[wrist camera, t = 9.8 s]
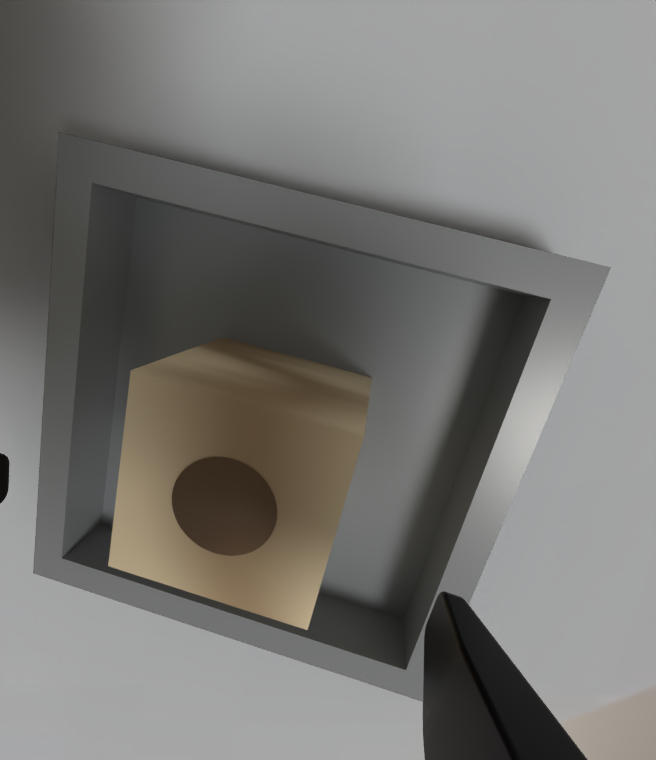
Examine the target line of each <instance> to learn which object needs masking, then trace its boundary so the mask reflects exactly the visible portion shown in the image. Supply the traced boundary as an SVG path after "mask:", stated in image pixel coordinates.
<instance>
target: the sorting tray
mask: <svg viewBox="0 0 656 760" xmlns="http://www.w3.org/2000/svg"><path fill="white" fill-rule="evenodd" d="M609 271H610V267H606V266H602V265H598V264H594V263H590V262H586V261H582V260H578V259H574V258H570V257H566V256H561V255H557V254H553V253H549V252H545V251H541V250H537V249H533V248H529V247H525V246H521V245H517V244H513V243H509V242H504V241H500V240H496V239H492V238H488V237H484V236H480V235H476V234H472V233H468V232H464V231H460V230H456V229H452V228H447V227H443V226H439V225H435V224H431V223H427V222H423V221H419V220H415V219H411V218H407V217H403V216H399V215H394V214H390V213H386V212H382V211H378V210H374V209H370V208H366V207H362V206H358V205H354V204H350V203H346V202H342V201H337V200H333V199H329V198H325V197H321V196H317V195H313V194H309V193H305V192H301V191H297V190H293V189H289V188H284V187H280V186H276V185H272V184H268V183H264V182H260V181H256V180H252V179H248V178H244V177H240V176H236V175H232V174H227V173H223V172H219V171H215V170H211V169H207V168H203V167H199V166H195V165H191V164H187V163H183V162H179V161H174V160H170V159H166V158H162V157H158V156H154V155H150V154H146V153H142V152H138V151H134V150H130V149H126V148H122V147H117V146H113V145H109V144H105V143H101V142H97V141H93V140H89V139H85V138H81V137H77V136H73V135H69V134H64V133H60V132H59V145H58V162H57V179H56V196H55V213H54V230H53V247H52V264H51V281H50V298H49V315H48V332H47V349H46V366H45V383H44V400H43V417H42V434H41V451H40V468H39V485H38V502H37V519H36V536H35V553H34V570H33V573H34V574H37V575H40V576H43V577H47V578H50V579H53V580H56V581H59V582H62V583H65V584H68V585H71V586H74V587H77V588H80V589H83V590H86V591H89V592H92V593H95V594H98V595H101V596H104V597H107V598H110V599H113V600H116V601H119V602H122V603H125V604H128V605H131V606H134V607H137V608H140V609H144V610H147V611H150V612H153V613H156V614H159V615H162V616H165V617H168V618H171V619H174V620H177V621H180V622H183V623H186V624H189V625H192V626H195V627H198V628H201V629H204V630H207V631H210V632H213V633H216V634H219V635H222V636H225V637H228V638H231V639H234V640H238V641H241V642H244V643H247V644H250V645H253V646H256V647H259V648H262V649H265V650H268V651H271V652H274V653H277V654H280V655H283V656H286V657H289V658H292V659H295V660H298V661H301V662H304V663H307V664H310V665H313V666H316V667H319V668H322V669H325V670H328V671H331V672H335V673H338V674H341V675H344V676H347V677H350V678H353V679H356V680H359V681H362V682H365V683H368V684H371V685H374V686H377V687H380V688H383V689H386V690H389V691H392V692H395V693H398V694H401V695H404V696H407V697H410V698H413V699H416V700H419V701H422V702H423V677H424V634H425V628H426V624H427V622H428V619H429V616H430V614H431V611H432V609H433V606H434V604H435V601H436V599H437V596H438V595H439V593H440V592H443V591H445V592H448V593H451V594H454V595H458V596H460V597H462V598H463V599H464V600H465V601H466V602H467V603H468V605H469V602H470V600H471V598H472V595H473V593H474V591H475V588H476V586H477V583H478V581H479V579H480V576H481V574H482V572H483V569H484V567H485V565H486V562H487V560H488V557H489V555H490V553H491V550H492V548H493V546H494V543H495V541H496V538H497V536H498V534H499V531H500V529H501V527H502V524H503V522H504V519H505V517H506V515H507V512H508V510H509V508H510V505H511V503H512V501H513V498H514V496H515V493H516V491H517V489H518V486H519V484H520V482H521V479H522V477H523V474H524V472H525V470H526V467H527V465H528V463H529V460H530V458H531V456H532V453H533V451H534V448H535V446H536V444H537V441H538V439H539V437H540V434H541V432H542V429H543V427H544V425H545V422H546V420H547V418H548V415H549V413H550V410H551V408H552V406H553V403H554V401H555V399H556V396H557V394H558V392H559V389H560V387H561V384H562V382H563V380H564V377H565V375H566V373H567V370H568V368H569V365H570V363H571V361H572V358H573V356H574V354H575V351H576V349H577V347H578V344H579V342H580V339H581V337H582V335H583V332H584V330H585V328H586V325H587V323H588V320H589V318H590V316H591V313H592V311H593V309H594V306H595V304H596V302H597V299H598V297H599V294H600V292H601V290H602V287H603V285H604V283H605V280H606V278H607V275H608V273H609ZM222 337H225V338H229V339H232V340H236V341H239V342H243V343H247V344H250V345H254V346H258V347H261V348H265V349H269V350H272V351H276V352H280V353H283V354H287V355H291V356H294V357H298V358H302V359H305V360H309V361H313V362H316V363H320V364H324V365H327V366H331V367H335V368H338V369H342V370H346V371H349V372H353V373H357V374H360V375H364V376H368V377H371V378H372V382H371V389H370V397H369V404H368V411H367V418H366V425H365V433H364V438H363V441H362V445H361V448H360V452H359V455H358V459H357V462H356V466H355V469H354V472H353V476H352V479H351V483H350V486H349V490H348V493H347V496H346V500H345V503H344V507H343V510H342V514H341V517H340V520H339V524H338V527H337V531H336V534H335V538H334V541H333V545H332V548H331V551H330V555H329V558H328V562H327V565H326V569H325V572H324V575H323V579H322V582H321V586H320V589H319V593H318V596H317V599H316V603H315V606H314V610H313V613H312V617H311V620H310V623H309V627H308V630H305V629H302V628H299V627H296V626H293V625H290V624H287V623H283V622H280V621H277V620H274V619H271V618H268V617H265V616H262V615H259V614H256V613H252V612H249V611H246V610H243V609H240V608H237V607H234V606H231V605H228V604H224V603H221V602H218V601H215V600H212V599H209V598H206V597H203V596H200V595H196V594H193V593H190V592H187V591H184V590H181V589H178V588H175V587H172V586H168V585H165V584H162V583H159V582H156V581H153V580H150V579H147V578H144V577H141V576H137V575H134V574H131V573H128V572H125V571H122V570H119V569H116V568H113V567H109V566H108V563H109V554H110V545H111V537H112V528H113V519H114V511H115V502H116V493H117V485H118V476H119V468H120V459H121V450H122V442H123V433H124V424H125V416H126V407H127V398H128V390H129V381H130V373H131V370H133V369H136V368H139V367H141V366H144V365H147V364H150V363H152V362H155V361H158V360H161V359H164V358H166V357H169V356H172V355H175V354H177V353H180V352H183V351H186V350H189V349H191V348H194V347H197V346H200V345H202V344H205V343H208V342H211V341H214V340H216V339H219V338H222Z"/></svg>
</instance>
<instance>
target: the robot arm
mask: <svg viewBox="0 0 656 760" xmlns="http://www.w3.org/2000/svg"><path fill="white" fill-rule="evenodd" d="M8 484H9V460H8V457H7V456H5V455H4V454H1V453H0V503H1V502H2V501H3V500H4V499H5V497H6V495H7V492H8ZM423 739H424V754H425V760H587V758H586V757H585V756H584V754H583V753H582V752H581V751H580V749H579V748H578V747H577V745H576V744H575V743H574V741H573V740H572V739H571V737H570V736H569V735H568V734H567V732H566V731H565V730H564V728H563V727H562V726H561V724H560V723H559V722H558V721H557V719H556V718H555V717H554V715H553V714H552V713H551V711H550V710H549V709H548V708H547V706H546V705H545V704H544V702H543V701H542V700H541V698H540V697H539V696H538V694H537V693H536V692H535V691H534V689H533V688H532V687H531V685H530V684H529V683H528V681H527V680H526V679H525V678H524V676H523V675H522V674H521V672H520V671H519V670H518V668H517V667H516V666H515V665H514V663H513V662H512V661H511V659H510V658H509V657H508V655H507V654H506V653H505V652H504V650H503V649H502V648H501V646H500V645H499V644H498V642H497V641H496V640H495V638H494V637H493V636H492V635H491V633H490V632H489V631H488V629H487V628H486V627H485V625H484V624H483V623H482V622H481V620H480V619H479V618H478V616H477V615H476V614H475V612H474V611H473V610H472V609H471V607H470V606H469V605H468V603H467V602H466V601H465V600H464V599H463V598H462V597H460V596H458V595H454V594H451V593H448V592H445V591H443V592H440V593H439V595H438V596H437V599H436V601H435V604H434V606H433V609H432V611H431V614H430V616H429V619H428V622H427V624H426V628H425V634H424V677H423Z"/></svg>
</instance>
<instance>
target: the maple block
mask: <svg viewBox="0 0 656 760" xmlns="http://www.w3.org/2000/svg"><path fill="white" fill-rule="evenodd" d="M371 382H372V378H371V377H368V376H364V375H360V374H357V373H353V372H349V371H346V370H342V369H338V368H335V367H331V366H327V365H324V364H320V363H316V362H313V361H309V360H305V359H302V358H298V357H294V356H291V355H287V354H283V353H280V352H276V351H272V350H269V349H265V348H261V347H258V346H254V345H250V344H247V343H243V342H239V341H236V340H232V339H229V338H225V337H222V338H219V339H216V340H214V341H211V342H208V343H205V344H202V345H200V346H197V347H194V348H191V349H189V350H186V351H183V352H180V353H177V354H175V355H172V356H169V357H166V358H164V359H161V360H158V361H155V362H152V363H150V364H147V365H144V366H141V367H139V368H136V369H133V370H131V373H130V381H129V390H128V398H127V407H126V416H125V424H124V433H123V442H122V450H121V459H120V468H119V476H118V485H117V493H116V502H115V511H114V519H113V528H112V537H111V545H110V554H109V563H108V566H109V567H113V568H116V569H119V570H122V571H125V572H128V573H131V574H134V575H137V576H141V577H144V578H147V579H150V580H153V581H156V582H159V583H162V584H165V585H168V586H172V587H175V588H178V589H181V590H184V591H187V592H190V593H193V594H196V595H200V596H203V597H206V598H209V599H212V600H215V601H218V602H221V603H224V604H228V605H231V606H234V607H237V608H240V609H243V610H246V611H249V612H252V613H256V614H259V615H262V616H265V617H268V618H271V619H274V620H277V621H280V622H283V623H287V624H290V625H293V626H296V627H299V628H302V629H305V630H308V627H309V623H310V620H311V617H312V613H313V610H314V606H315V603H316V599H317V596H318V593H319V589H320V586H321V582H322V579H323V575H324V572H325V569H326V565H327V562H328V558H329V555H330V551H331V548H332V545H333V541H334V538H335V534H336V531H337V527H338V524H339V520H340V517H341V514H342V510H343V507H344V503H345V500H346V496H347V493H348V490H349V486H350V483H351V479H352V476H353V472H354V469H355V466H356V462H357V459H358V455H359V452H360V448H361V445H362V441H363V438H364V433H365V425H366V418H367V411H368V404H369V397H370V389H371Z"/></svg>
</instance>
